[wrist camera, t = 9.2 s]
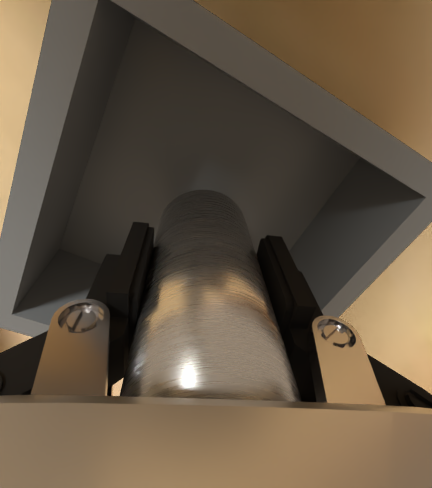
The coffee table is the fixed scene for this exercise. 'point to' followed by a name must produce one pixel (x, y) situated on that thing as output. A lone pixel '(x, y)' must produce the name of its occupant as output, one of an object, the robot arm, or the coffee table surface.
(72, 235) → the bin
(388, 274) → the coffee table surface
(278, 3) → the coffee table surface
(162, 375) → the copper topped cylinder
